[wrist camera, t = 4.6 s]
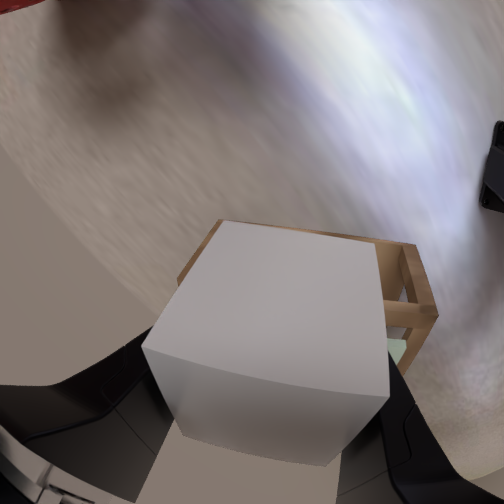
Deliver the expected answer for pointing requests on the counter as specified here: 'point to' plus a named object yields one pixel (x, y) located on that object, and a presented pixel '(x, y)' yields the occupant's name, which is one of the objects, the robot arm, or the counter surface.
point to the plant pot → (16, 5)
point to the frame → (384, 288)
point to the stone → (274, 344)
